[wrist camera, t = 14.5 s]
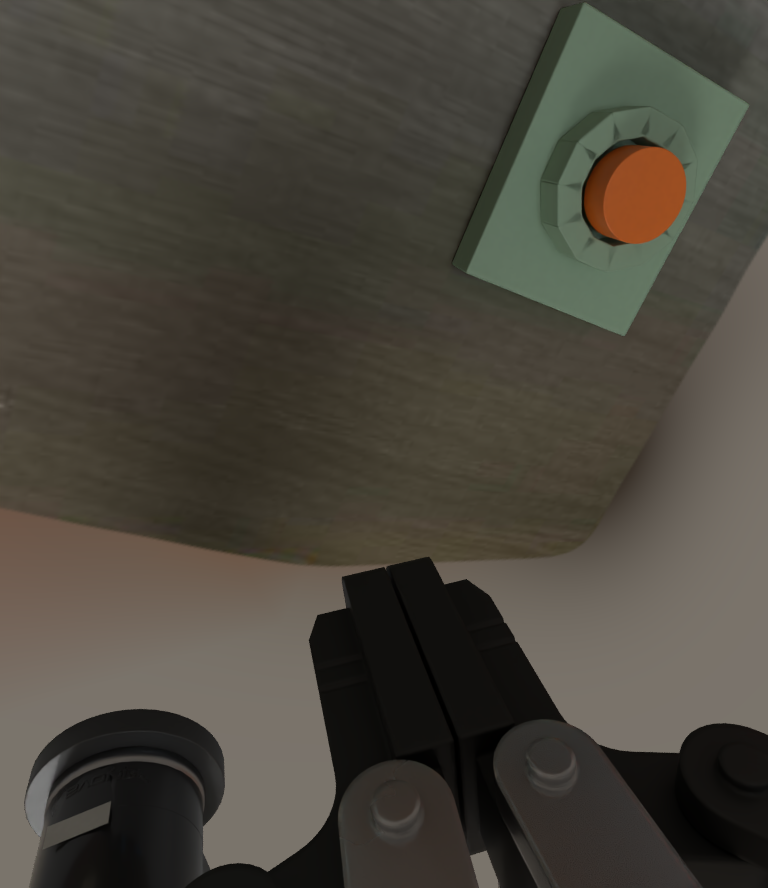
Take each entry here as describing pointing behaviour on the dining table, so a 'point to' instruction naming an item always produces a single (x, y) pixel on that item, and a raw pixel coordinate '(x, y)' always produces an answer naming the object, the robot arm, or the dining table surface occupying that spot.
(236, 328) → the dining table surface
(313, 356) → the dining table surface
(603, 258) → the block
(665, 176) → the power button
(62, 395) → the dining table surface
